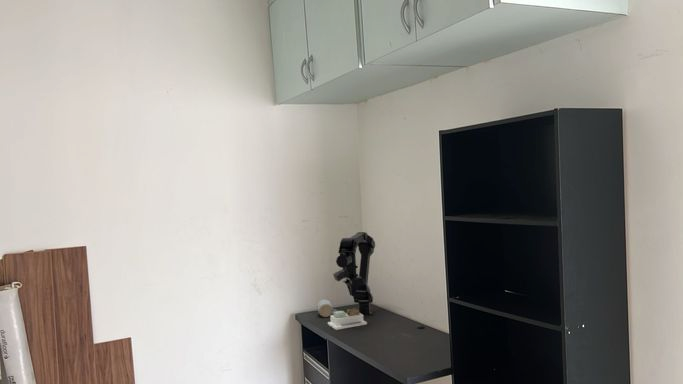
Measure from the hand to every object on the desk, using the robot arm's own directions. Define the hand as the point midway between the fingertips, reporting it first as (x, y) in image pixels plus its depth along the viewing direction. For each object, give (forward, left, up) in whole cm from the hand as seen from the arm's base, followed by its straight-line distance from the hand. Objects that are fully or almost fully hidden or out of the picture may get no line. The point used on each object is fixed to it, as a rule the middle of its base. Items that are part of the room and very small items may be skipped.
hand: (352, 295), depth 266 cm
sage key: (0, -7, -10) cm, 12 cm away
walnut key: (0, 0, -10) cm, 10 cm away
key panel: (+2, -4, -13) cm, 14 cm away
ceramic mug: (-20, -6, -13) cm, 25 cm away
